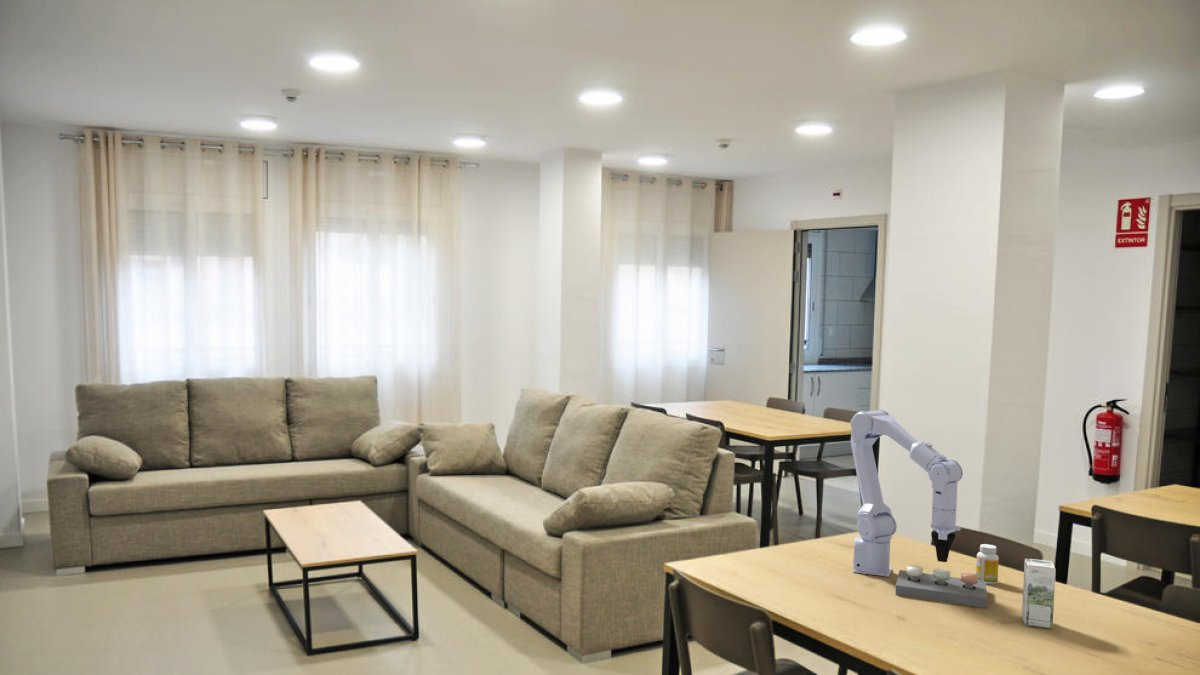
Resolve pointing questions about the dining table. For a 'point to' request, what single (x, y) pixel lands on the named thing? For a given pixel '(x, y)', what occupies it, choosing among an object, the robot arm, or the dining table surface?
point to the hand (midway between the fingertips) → (942, 561)
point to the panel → (942, 590)
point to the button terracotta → (969, 579)
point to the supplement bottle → (987, 564)
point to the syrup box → (1038, 593)
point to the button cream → (914, 572)
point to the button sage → (941, 576)
